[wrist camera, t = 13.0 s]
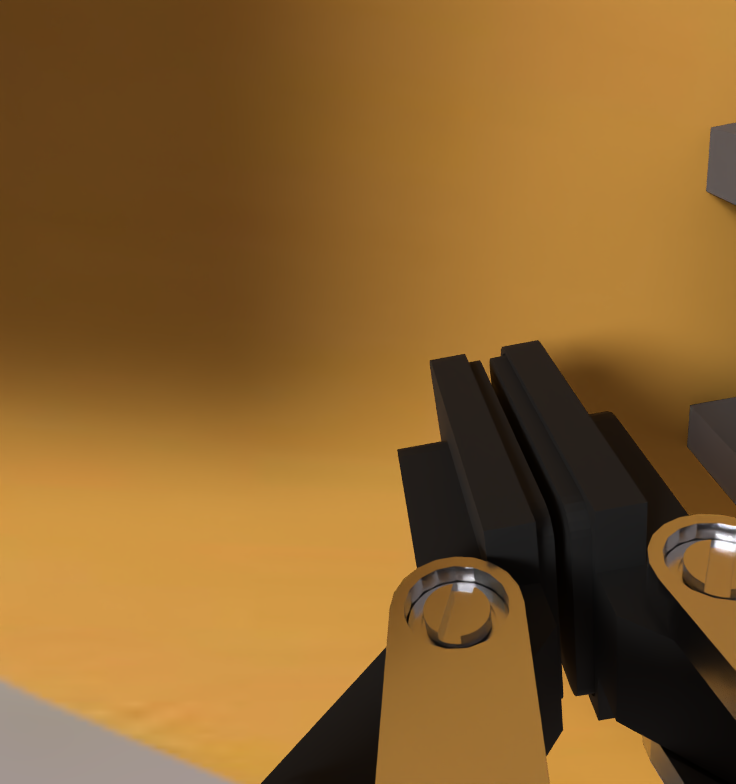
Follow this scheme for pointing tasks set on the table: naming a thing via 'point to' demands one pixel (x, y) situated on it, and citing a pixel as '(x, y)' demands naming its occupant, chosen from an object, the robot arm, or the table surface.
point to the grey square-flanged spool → (732, 415)
